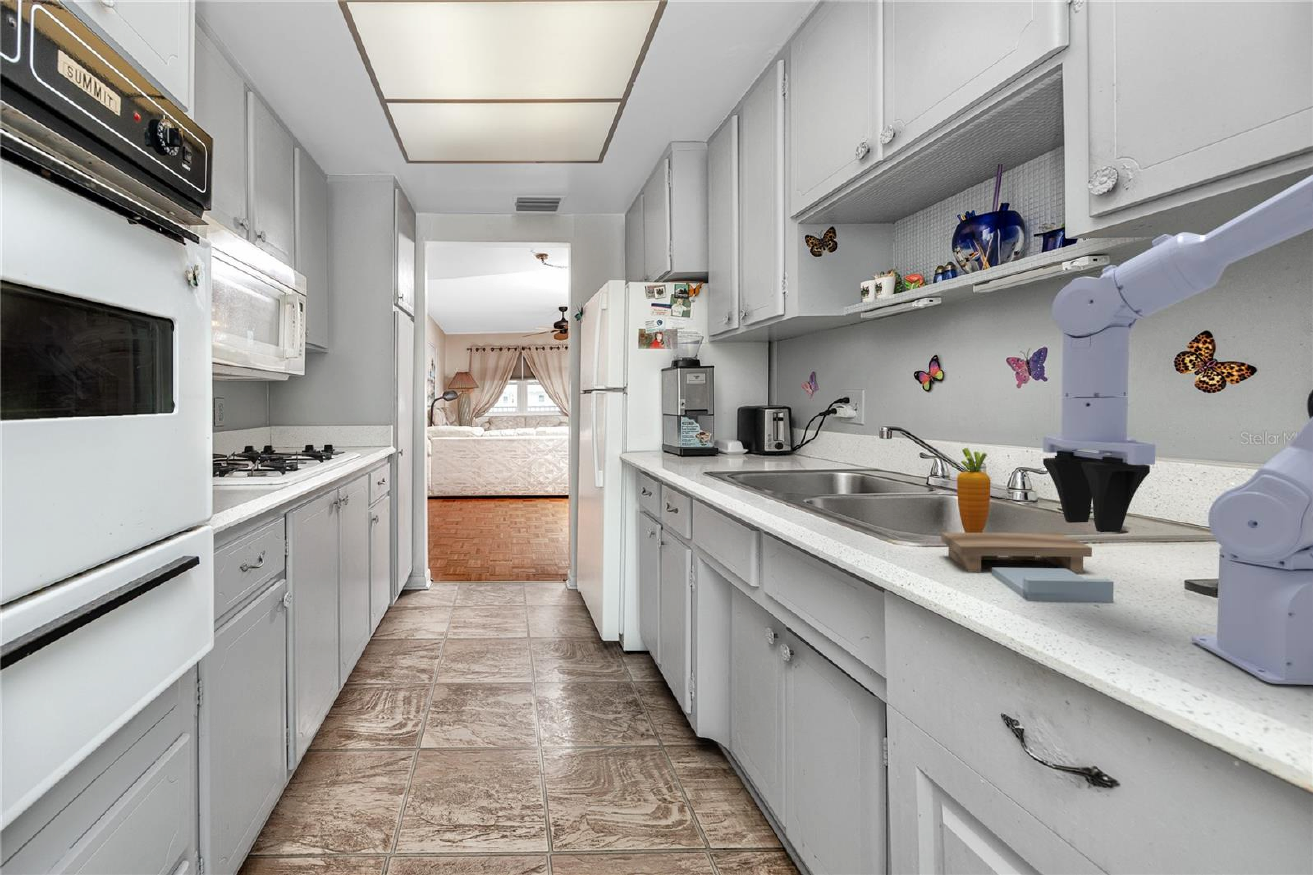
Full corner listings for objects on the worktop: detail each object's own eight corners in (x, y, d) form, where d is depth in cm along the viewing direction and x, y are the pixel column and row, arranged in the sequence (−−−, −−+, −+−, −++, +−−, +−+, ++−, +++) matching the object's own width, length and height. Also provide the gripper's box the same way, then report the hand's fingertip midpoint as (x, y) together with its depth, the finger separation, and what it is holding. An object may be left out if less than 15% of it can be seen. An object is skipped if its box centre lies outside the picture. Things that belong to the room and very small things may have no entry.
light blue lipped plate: (1113, 604, 74) (1113, 581, 73) (1027, 602, 75) (1027, 580, 75) (1066, 577, 84) (1066, 557, 84) (991, 576, 86) (992, 556, 86)
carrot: (997, 546, 100) (998, 449, 100) (964, 547, 100) (965, 450, 100) (981, 539, 105) (981, 446, 105) (950, 540, 105) (950, 447, 105)
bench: (1091, 573, 85) (1091, 547, 85) (961, 571, 87) (961, 546, 87) (1058, 556, 94) (1059, 533, 94) (941, 555, 96) (941, 532, 96)
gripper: (1189, 396, 61) (1185, 540, 62) (1086, 396, 76) (1084, 513, 76) (1113, 398, 61) (1110, 542, 62) (1025, 398, 76) (1024, 514, 76)
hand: (1092, 526), depth 69 cm, fingers open, 4 cm apart
